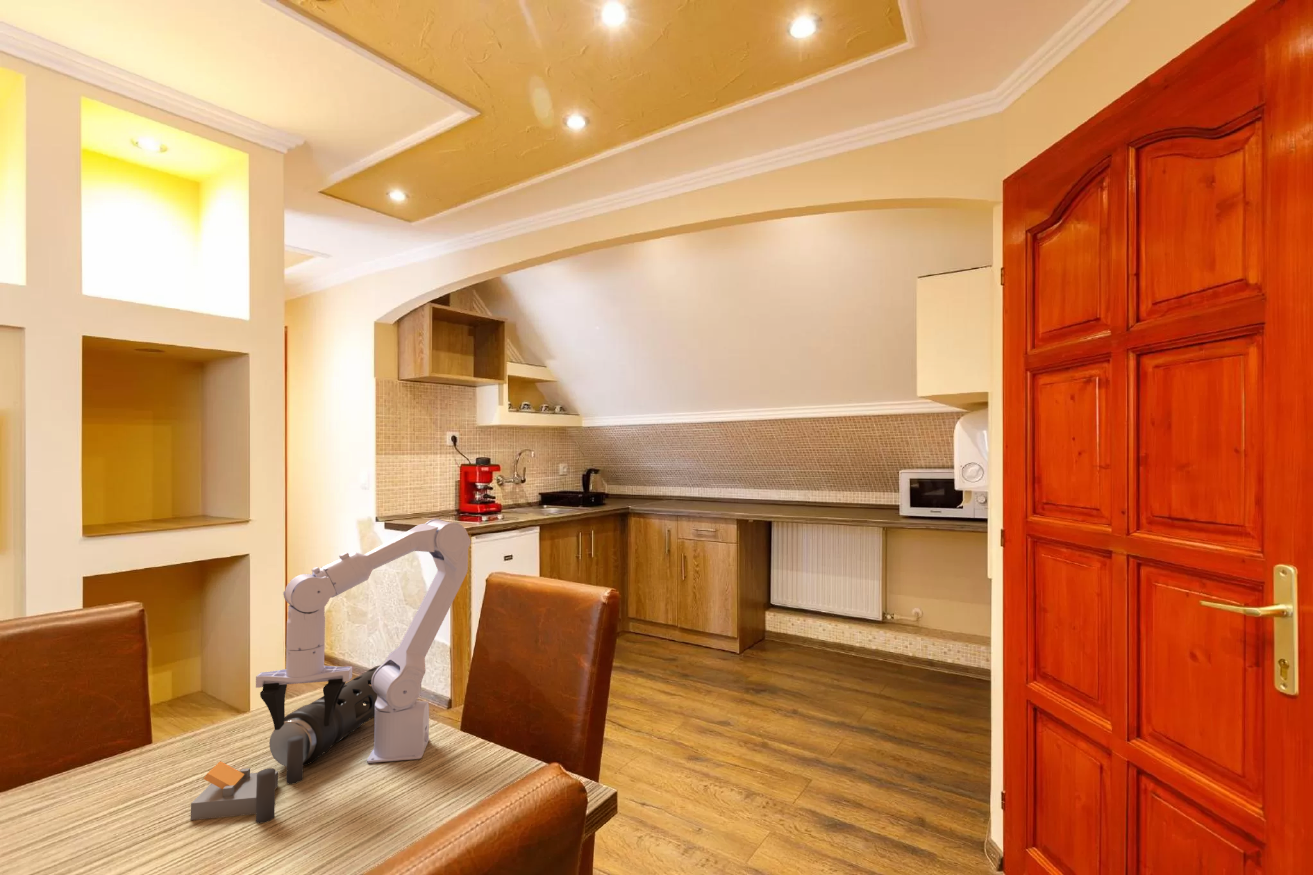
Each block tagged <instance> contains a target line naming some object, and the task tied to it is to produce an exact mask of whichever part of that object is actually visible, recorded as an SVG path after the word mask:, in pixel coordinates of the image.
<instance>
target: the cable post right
mask: <svg viewBox="0 0 1313 875" xmlns="http://www.w3.org/2000/svg"><path fill="white" fill-rule="evenodd" d="M303 739H304V737H303V736H294V737H291V738H289V739H288V740H287V767H286V778H285V779H286V780H285V781H286V784H287V785H293V784H297V783H300V782H302V780H303V779H304V778H303V776H304V765H303Z"/></svg>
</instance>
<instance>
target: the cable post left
mask: <svg viewBox="0 0 1313 875" xmlns="http://www.w3.org/2000/svg"><path fill="white" fill-rule="evenodd" d="M275 771H276V768H274V767H273V768H270V767H269V768H264V769H262V770H260V771H258V772H256V773H257V789H256V814H255V822H256V823H257V824H265V823H268V822H270V821H272V820H273V819H274V818H275V811H276V810H275V806H276V805H275V804H276V803H275V801H276V800H275V799H276V789H275Z"/></svg>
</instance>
